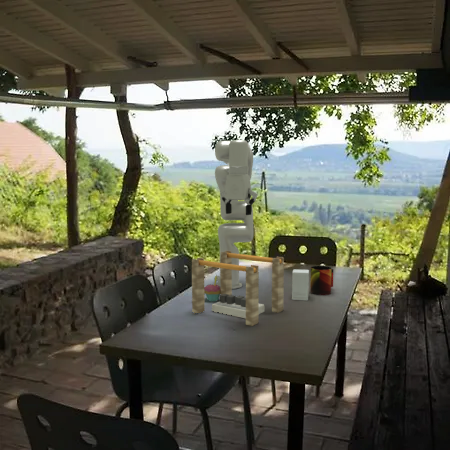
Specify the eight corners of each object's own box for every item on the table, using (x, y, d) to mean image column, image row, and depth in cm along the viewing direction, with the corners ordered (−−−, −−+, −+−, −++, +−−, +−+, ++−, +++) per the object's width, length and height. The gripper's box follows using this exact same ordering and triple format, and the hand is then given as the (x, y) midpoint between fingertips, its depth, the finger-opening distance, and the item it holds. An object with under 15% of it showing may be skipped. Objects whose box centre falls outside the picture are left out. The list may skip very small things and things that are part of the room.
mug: (333, 288, 241) (333, 264, 239) (329, 296, 228) (330, 270, 226) (313, 287, 244) (313, 263, 242) (308, 294, 231) (309, 269, 229)
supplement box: (308, 300, 220) (308, 273, 218) (291, 299, 221) (291, 272, 220) (308, 296, 227) (309, 269, 226) (292, 295, 229) (292, 268, 227)
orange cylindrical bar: (221, 256, 217) (221, 252, 217) (224, 256, 219) (224, 251, 219) (280, 264, 201) (280, 259, 201) (282, 263, 202) (282, 258, 202)
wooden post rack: (192, 312, 203) (191, 259, 200) (226, 299, 222) (226, 250, 220) (252, 326, 186) (252, 267, 183) (283, 310, 206) (283, 257, 203)
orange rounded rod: (193, 264, 201) (193, 259, 201) (196, 263, 203) (196, 259, 202) (254, 273, 185) (254, 268, 184) (257, 272, 186) (257, 267, 186)
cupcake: (225, 298, 224) (225, 272, 222) (217, 303, 216) (217, 276, 215) (208, 296, 227) (208, 271, 226) (199, 301, 220) (199, 275, 218)
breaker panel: (212, 311, 205) (211, 297, 204) (228, 304, 214) (228, 291, 214) (248, 319, 194) (248, 304, 194) (264, 311, 204) (264, 297, 203)
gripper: (215, 171, 199) (215, 213, 201) (251, 171, 190) (251, 216, 192) (226, 171, 205) (226, 212, 208) (261, 171, 196) (261, 214, 198)
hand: (238, 214), depth 200 cm, fingers open, 9 cm apart
